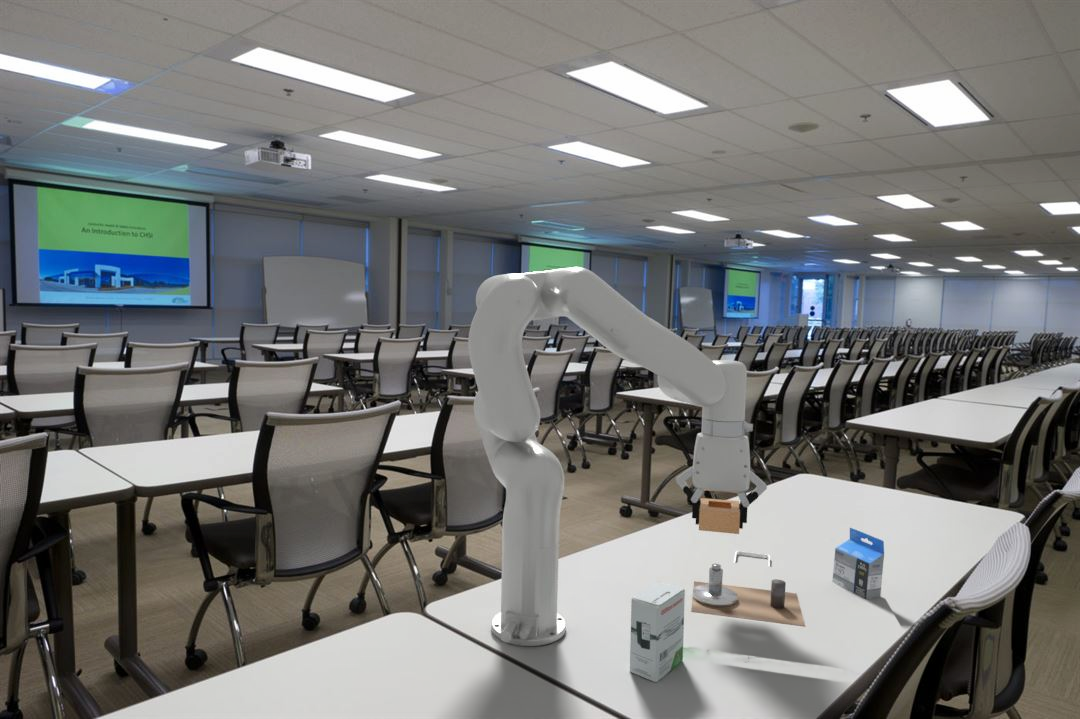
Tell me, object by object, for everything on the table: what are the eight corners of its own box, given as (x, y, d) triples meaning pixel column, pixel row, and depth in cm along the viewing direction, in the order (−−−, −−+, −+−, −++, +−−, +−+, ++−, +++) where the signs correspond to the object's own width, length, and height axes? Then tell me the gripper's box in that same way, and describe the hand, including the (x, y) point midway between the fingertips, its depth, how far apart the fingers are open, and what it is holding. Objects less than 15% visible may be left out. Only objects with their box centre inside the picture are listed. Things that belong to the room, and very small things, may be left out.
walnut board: (804, 634, 120) (806, 600, 119) (690, 619, 124) (692, 586, 124) (796, 601, 133) (797, 570, 133) (693, 588, 138) (695, 558, 137)
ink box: (656, 650, 113) (659, 579, 112) (684, 661, 110) (687, 587, 109) (627, 672, 106) (630, 596, 105) (655, 684, 103) (658, 605, 102)
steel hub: (737, 610, 125) (739, 575, 125) (691, 604, 127) (693, 570, 127) (736, 592, 133) (738, 560, 132) (693, 587, 135) (694, 555, 134)
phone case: (735, 556, 158) (731, 580, 144) (735, 550, 158) (731, 574, 144) (769, 560, 156) (769, 586, 141) (770, 554, 155) (769, 579, 141)
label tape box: (830, 588, 140) (834, 528, 139) (846, 586, 141) (850, 526, 140) (865, 607, 131) (869, 543, 130) (882, 604, 133) (886, 541, 132)
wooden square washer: (739, 534, 125) (740, 512, 124) (698, 530, 126) (699, 508, 126) (738, 522, 131) (739, 501, 131) (699, 518, 133) (700, 498, 133)
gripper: (771, 427, 129) (767, 522, 130) (675, 422, 133) (672, 514, 135) (774, 435, 122) (770, 535, 123) (672, 429, 126) (669, 526, 127)
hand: (718, 523), depth 129 cm, fingers closed on wooden square washer, 7 cm apart
